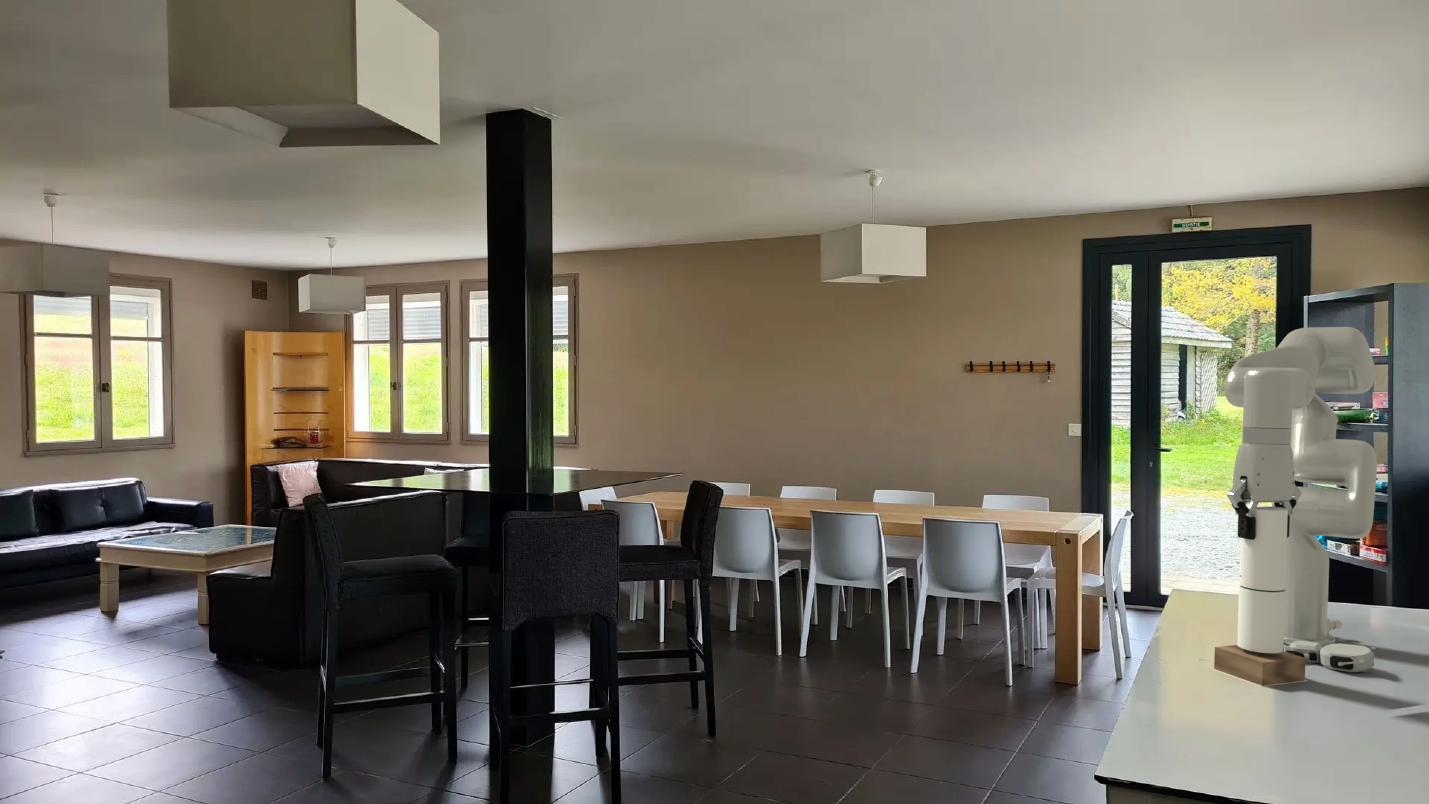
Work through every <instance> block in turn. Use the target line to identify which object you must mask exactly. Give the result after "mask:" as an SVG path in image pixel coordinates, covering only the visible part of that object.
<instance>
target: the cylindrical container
mask: <svg viewBox="0 0 1429 804" xmlns="http://www.w3.org/2000/svg"><path fill="white" fill-rule="evenodd" d="M1246 506H1247V507H1249V504H1246ZM1252 517H1256V536H1255V539H1254V540H1250V539H1245V538H1240V541H1239V542H1240V546H1239V547H1240V548H1239V551H1240V552H1239V573H1238V574H1239V576H1238V577H1239V580H1238V609H1237V613H1238V614H1237V644H1236V645H1238V646H1239V647H1241V648H1243V649H1246V650H1250V651H1254V652H1261V653H1281V652H1283V645H1284V643H1283V642H1284V611H1285V579H1286V549H1287V518H1288V509H1285V508H1281V507H1274V506H1272V505H1261V504H1258V505H1257V508H1256V510H1255V512H1254V514H1253V516H1252Z"/></svg>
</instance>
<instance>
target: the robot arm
mask: <svg viewBox="0 0 1429 804" xmlns="http://www.w3.org/2000/svg"><path fill="white" fill-rule="evenodd" d="M1372 356H1373V355H1372V353H1371V349H1370V346H1369V342H1368V341H1367V338H1366V337H1365V335H1364V334H1363V333H1362V332H1361V331H1360V330H1359V329H1357V328H1354V327H1350V326H1325V327H1323V326H1322V327H1318V326H1317V327H1313V326H1311V327H1301V328H1298V329H1294V330H1292V331H1290V332H1289V333H1287V335H1286V336H1285V337H1284V338H1283V339H1282V341H1281V342H1279V344H1278V346H1277V347H1274V348H1271V349H1267V350H1264V351H1259V352H1257V353H1253V354H1250V355H1246V356H1244V357H1242V358H1240V359H1239V360H1237V361H1236V362H1235V363H1234V365H1233V366H1232V367H1231V369H1230V370H1229V372H1228V374H1227V375H1226V377H1225V380H1224V387H1223V388H1224V389H1223V390H1224V394H1225V398H1226V400H1227V402H1228V403H1229V404H1230V405H1232V406H1234V407H1237V408H1243V409H1242V410H1243V411H1242V413H1243V415H1242V434H1241V435H1242V437H1241V438H1242V440H1241V441H1242V442H1241V444H1239V445H1238V447H1237V448H1238V449H1237V452H1236V456H1235V462H1234V467H1233V477H1232V488H1231V489H1230V490H1229V491H1228V492H1227V494H1226V496H1227V498H1228V500H1229V503H1231V507H1232V508H1233V509H1234V513H1235V515H1236V516H1237V537H1238V538H1240V539H1241V538H1245V539H1250V540H1254V539H1255V536H1256V517H1252V516H1253V514H1254V512H1255V510H1256V508H1257V505H1259V503H1271V506H1274V507H1281V508H1285V509H1288V518H1287V549H1286V579H1285V611H1284V642H1283V644H1286V643H1293V642H1295V641H1307V642H1314V643H1319V644H1320V645H1321V646H1322V648H1323V647H1324V646H1327V645H1330V644H1336V639H1337V638H1336V637H1335V636H1333V635H1331V634H1330V631H1331V630H1338V629H1342V627H1343V624H1342V621H1341V620H1340V619H1337V618H1336V619H1330V618H1328V609H1329V608H1328V607H1329V606H1328V605H1329V578H1330V574H1329V573H1330V558H1329V554H1328V552H1327V550H1326V549H1325V547H1324V546H1323V544H1322V543H1321V542H1320V541H1319V540H1318V538H1317V537H1316V536H1319V537H1320V536H1324V537H1325V536H1326V537H1336V538H1343V539H1344V538H1345V539H1363V538H1365V537H1367V536H1368V535H1369V534H1370V532H1371V530H1372V527H1373V522H1374V514H1375V513H1374V510H1375V501H1376V488H1377V487H1376V486H1377V473H1378V459H1377V454H1376V451H1375V449H1374V447H1373V446H1372V445H1371V444H1370V443H1368V442H1367V441H1363V440H1359V439H1346V438H1343V439H1342V438H1341V439H1340V438H1337V426H1338V417H1337V415H1336V413H1335V412H1334V411H1333V409H1332V408H1331V407H1330V406H1329V405H1328V404H1327V402H1325V400H1323V399H1322V398H1321V397H1320V396H1319V395H1318V394H1331V395H1332V394H1334V395H1335V394H1336V395H1361V394H1365V393H1367V392H1368V391H1370V390H1371V389H1372V388H1373V385H1374V383H1375V380H1376V379H1375V378H1376V367H1375V362H1374V359H1373V357H1372ZM1295 482H1301V483H1305V484H1306V483H1307V484H1308V483H1309V484H1318V485H1329V486H1330V485H1331V486H1342V487H1343V486H1344V487H1346V489H1348V490H1344V489H1332V488H1324V487H1309V486H1308V487H1307V486H1297V485H1296V483H1295ZM1246 505H1249V507H1247V506H1246Z"/></svg>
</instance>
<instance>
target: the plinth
mask: <svg viewBox="0 0 1429 804" xmlns="http://www.w3.org/2000/svg"><path fill="white" fill-rule="evenodd" d="M1305 659H1306V658H1304V657H1301V656H1297V655H1294V654H1291V653H1288V652H1284V651H1283V652H1281V653H1261V652H1254V651H1250V650H1246V649H1243V648H1241V647H1239V646H1238V645H1237V644H1233V645H1231V644H1230V645H1223V646H1222V645H1221V646H1215V647H1214V660H1213V661H1214V662H1213V664H1214V665H1213V669H1216V670H1218V671H1221V672H1224V673H1227V674H1230V675H1233V676H1235V677H1238V678H1241V679H1244V680H1247V681H1250V682H1252V683H1255V684H1258V685H1261V686H1263V687H1266V686H1265V685H1272V686H1274V685H1273V684H1280V685H1283V684H1282V683H1288V684H1291V683H1290V682H1296V683H1299V682H1298V681H1304V682H1306V681H1305V680H1306V662H1305Z"/></svg>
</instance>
